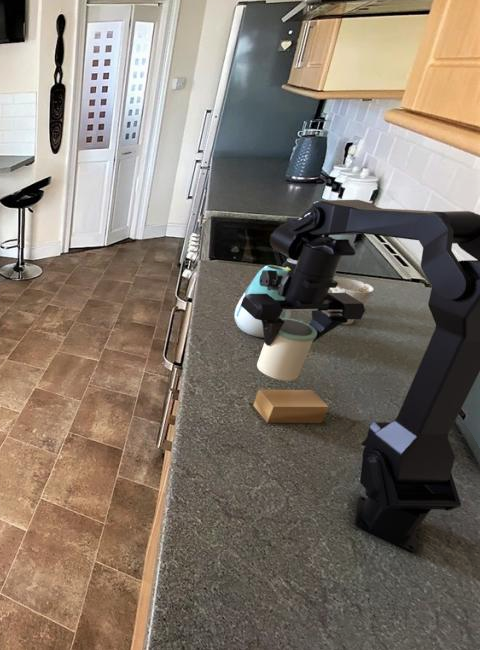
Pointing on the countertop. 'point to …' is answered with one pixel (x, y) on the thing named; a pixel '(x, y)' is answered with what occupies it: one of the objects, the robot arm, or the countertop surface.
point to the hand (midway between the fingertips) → (286, 344)
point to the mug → (353, 291)
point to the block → (290, 406)
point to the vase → (241, 315)
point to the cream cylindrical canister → (287, 350)
